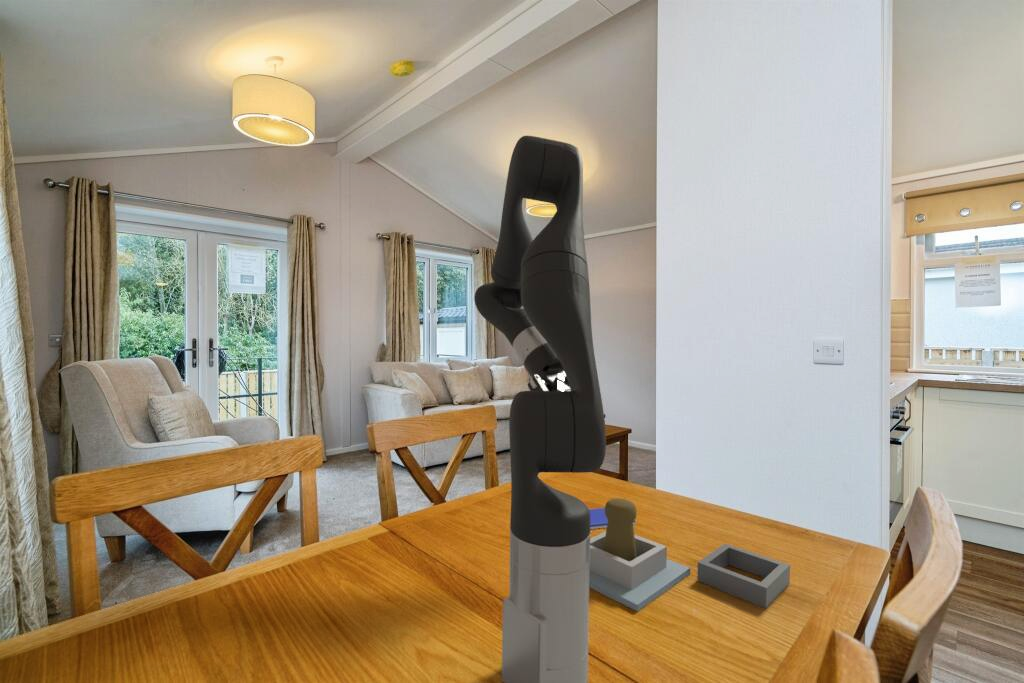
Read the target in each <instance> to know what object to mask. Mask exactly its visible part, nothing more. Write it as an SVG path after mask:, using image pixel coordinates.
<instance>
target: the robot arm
mask: <svg viewBox="0 0 1024 683" xmlns="http://www.w3.org/2000/svg"><path fill="white" fill-rule="evenodd" d="M583 166H584V165H583V157H582V154H581V151H580V150H579V148H578V147H577V146H576V145H573V144H572V143H567V142H564V141H559V140H555V139H550V138H545V137H541V136H540V137H539V136H533V135H522V136H521V137H520V138H519V139H518V140H517V142H516V143H515V146H514V148H513V150H512V154H511V158H510V162H509V167H508V170H507V171H508V172H507V178H506V183H505V184H506V185H505V191H504V198H503V203H502V204H503V205H502V206H503V207H502V212H501V219H500V220H501V222H500V229H499V230H500V231H499V238H498V242H497V246H496V250H495V253H494V257H493V261H492V264H491V267H490V276H491V279H492V281H493V282H490V283H485V284H482V285H480V286H479V287H477V288H476V290H475V292H474V304H475V308H476V309H477V311H478V313H479V314H480V315H481V316H482V317H483V318H484V319H485V320H486V321H487V322H488V323H490V324H491V325H492V326H493V327H495V329H496V330H498V331H499V332H501V333H502V334H503V335H504V336H505V338H506V339H507V341H508V342H509V344H510V345H511V346H512V348H513V351H514V352H515V354H516V356H517V358H518V360H519V361H520V363H521V364H522V365H523V367H524V369H525V370H526V371H527V373H528V375H529V376H530V378H531V379H530V380H529V381H528V383H527V387H528V389H529V390H522V391H519V392H517V393H516V394H515V395H514V397H513V399H512V401H511V405H510V408H509V419H508V420H509V421H508V426H509V427H508V430H509V432H508V433H509V434H508V435H509V454H510V456H509V457H510V477H511V479H510V484H511V487H510V488H511V490H510V492H511V494H510V496H511V497H510V517H509V519H510V523H509V525H510V526H509V527H510V530H509V534H510V535H509V587H508V588H509V594H508V596H507V597H505V598H504V599H502V600H503V601H502V627H501V628H502V637H501V638H502V639H501V641H502V642H501V643H502V644H501V646H502V648H501V651H502V652H501V681H502V682H503V683H589V682H588V680H589V632H590V631H589V630H590V628H589V626H590V620H589V619H590V588H589V575H590V538H591V529H590V512H589V507H588V505H586V503H585V502H584V501H583V500H581V499H579V498H578V497H576V496H573V495H571V494H569V493H566V492H563V491H561V490H558V489H555V488H554V487H552V486H550V485H549V484H547V483H546V482H544V481H543V480H541V478H539V477H538V475H539V474H540V473H565V474H566V473H567V474H569V473H570V474H571V473H573V474H574V473H575V474H578V473H579V474H580V473H582V474H583V473H584V474H585V473H593V472H597V471H598V470H600V468H601V467H602V466H603V463H604V461H605V457H606V450H607V449H606V448H607V432H606V422H605V418H606V413H605V412H604V405H603V400H602V395H601V394H602V393H601V385H600V382H599V376H598V370H597V364H596V357H595V356H596V355H595V350H594V342H593V341H594V340H593V331H592V330H593V327H592V315H591V314H592V312H591V311H592V310H591V291H590V289H591V288H590V278H589V276H590V275H589V268H588V267H589V266H588V258H587V252H586V243H585V232H584V220H583V219H584V218H583V215H584V214H583V213H584V212H583V210H584V209H583V204H584V203H583V202H584V200H583V199H584V196H583V195H584V188H583V187H584V167H583ZM523 199H526V200H532V201H538V202H543V203H548V204H553V205H555V208H556V212H555V213H554V215H553V216H552V218H551V220H550V221H549V222H548V223H547V224H546V226H544V228H542V230H541V231H540V232H539V233H538V234H536V236H535V238H534V239H533V237H532V235H531V230H530V229H529V226H528V223H527V221H526V219H525V215H524V212H523Z"/></svg>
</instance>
